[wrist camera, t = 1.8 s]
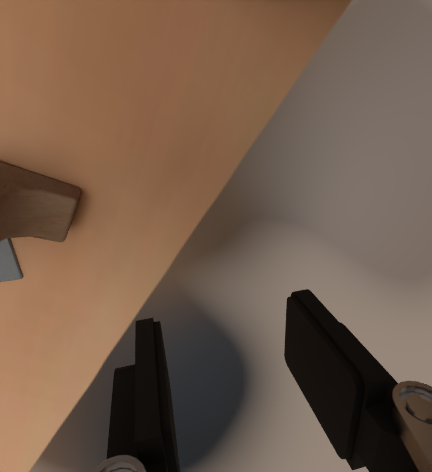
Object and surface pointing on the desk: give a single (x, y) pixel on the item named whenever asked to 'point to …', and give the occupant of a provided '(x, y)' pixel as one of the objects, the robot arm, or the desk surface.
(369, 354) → the robot arm
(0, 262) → the mat
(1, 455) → the desk surface
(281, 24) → the desk surface
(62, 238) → the wooden block
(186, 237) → the desk surface
